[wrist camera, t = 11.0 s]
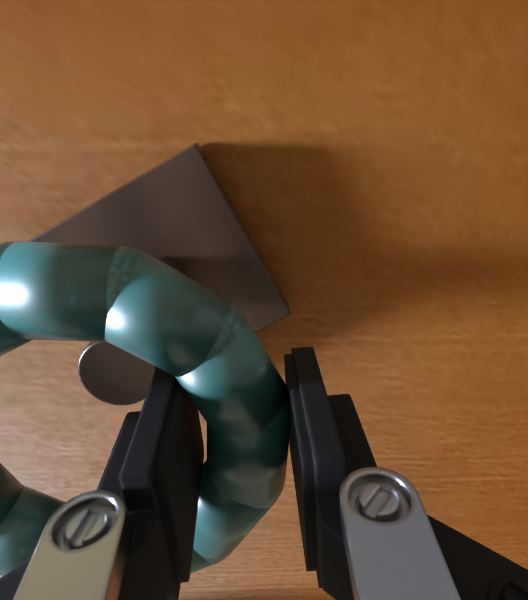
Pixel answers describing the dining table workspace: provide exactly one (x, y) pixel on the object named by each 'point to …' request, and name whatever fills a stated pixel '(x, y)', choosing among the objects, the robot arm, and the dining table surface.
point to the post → (171, 256)
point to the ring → (165, 355)
